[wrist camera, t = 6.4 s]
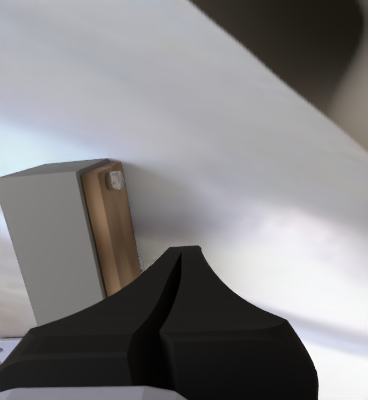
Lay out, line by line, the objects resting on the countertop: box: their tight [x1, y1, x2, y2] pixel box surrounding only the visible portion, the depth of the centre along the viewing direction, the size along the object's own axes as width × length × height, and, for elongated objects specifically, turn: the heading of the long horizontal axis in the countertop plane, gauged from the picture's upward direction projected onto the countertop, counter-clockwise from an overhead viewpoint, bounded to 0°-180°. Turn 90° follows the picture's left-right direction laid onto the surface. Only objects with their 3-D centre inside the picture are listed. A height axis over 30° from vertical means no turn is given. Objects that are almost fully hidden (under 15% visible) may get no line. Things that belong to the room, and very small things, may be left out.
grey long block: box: [0, 158, 108, 326], centre depth 20 cm, size 12×5×5 cm, turn 6°
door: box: [81, 161, 141, 297], centre depth 20 cm, size 12×2×5 cm, turn 6°
